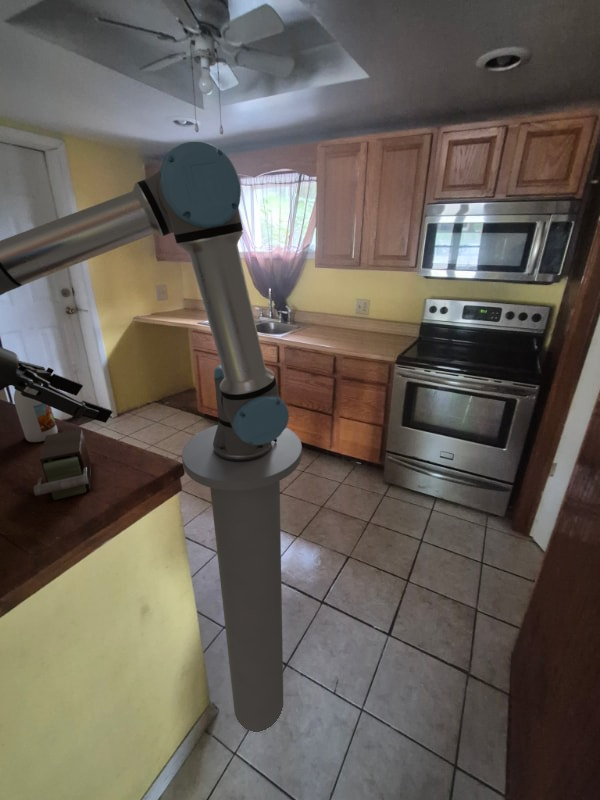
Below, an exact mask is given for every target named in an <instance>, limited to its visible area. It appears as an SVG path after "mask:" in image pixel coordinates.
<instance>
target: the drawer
mask: <svg viewBox="0 0 600 800" xmlns="http://www.w3.org/2000/svg"><path fill="white" fill-rule="evenodd" d="M43 467H44V470H45V473H46V476H47V479H48V483H47V482H44V483H43V481H44V479H43V477H41V476H40V477H38V480H37V484H36V485H33V492H34V496H35V497H38V496H43V495H46V494H51V492H52V495H53V498H54V499H53V501H57V500H61V499H66V498H69V497H73V496H76V495H82V494H86V493H87V491H86V487H85V484H88V483H89V481H88V476H87V468H84V470H83V474H82V470H81V466H80V463H79V459H78V455H77V454H75V455H71V456H66V457H61V458H56V459H51V460H48V462H47V463H44V465H43Z"/></svg>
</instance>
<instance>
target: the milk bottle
mask: <svg viewBox="0 0 600 800" xmlns="http://www.w3.org/2000/svg"><path fill="white" fill-rule="evenodd" d="M13 404H14V406H15V410H16V414H17V417H18V420H19V423H20V426H21V429H22V432H23V434H24V438H25V441H27V442H30V443H40V442H45V438H46V435H51V434H57V433H59V432H58V426H57V423H56V419H55V416H54V412H53V409H52V407H50V406H48V405H46V404H43V403H41V402H39V401H36V400H34V399H31V398H28V397H24V396H22V395H21V392H20V391H18V390H16V389H14V393H13Z"/></svg>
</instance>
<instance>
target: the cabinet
mask: <svg viewBox="0 0 600 800" xmlns="http://www.w3.org/2000/svg"><path fill="white" fill-rule="evenodd" d="M75 454H77V455H78V459H79V463H80V466H81V470H82V474H83V470H84V468H87V476H88V481H89V483H88V484H85V487H86V492H90V491H91V476H92V464H91V459H90V456H89V452H88V447H87V444H86V440H85V435H84V433H83V429H82V428H80V429H75V430H68V431H64V432H63V431H62V432H58V433H57V434H51V435H46V438H45V441H43V445H42V449H41V453H40V456H39V461H40V464H41V468H42V471H43V474H44V477H45V480H46V483H48V479H47V476H46V473H45V470H44V467H43V465H44V463H47V462H48V460H51V459H56V458H61V457H66V456H71V455H75ZM50 496H51V499H52V500H54V498H53V495H52V492H51V493H50Z"/></svg>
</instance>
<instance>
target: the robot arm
mask: <svg viewBox="0 0 600 800" xmlns="http://www.w3.org/2000/svg"><path fill="white" fill-rule="evenodd" d="M241 195H242V187H241V180H240V176H239V174H238V170H237V168H236V167H235V165H234V163H233V162H232V160H231V159H230V158H229V156H228V155H227V154H226V153H224V152H223V151H222V150H221V149H220V148H218V147H217V146H215V145H213V144H211V143H210V142H205V141H201V140H190V141H189V140H188V141H186V142H182V143H180V144H178V145H176V146H175V147H173V148H172V149H171V150H169V151H168V152H167V153H166V154H165V157H164V158H163V160H162V162H161V164H160V168H159V169H158V171H157V172H155V173H154V174H152V175H151V176H149V177H147V178H144V179H142V180H140V181H139V180H138V181H137V182H134V185H133V189H132V191H130V192H127V193H124V194H121V195H118V196H115V197H113V198H111V199H110V198H109V199H108V200H105V201H103V202H100V203H97V204H94V205H92V206H89V207H87V208H84V209H81V210H78V211H76V212H73V213H70V214H68V215H65V216H63V217H59V218H57V219H54V220H51V221H49V222H47V223H44V224H40V225H39V226H36V227H33V228H30V229H28V230H24V231H23V232H20V233H17V234H14V235H12V236H9V237H6V238H3V239H1V240H0V296H2V295H4V294H6V293H8V292H10V291H13V290H16V289H18V288H21V287H22V286H25V285H27V284H30V283H32V282H35V281H37V280H40V279H43V278H45V277H47V276H50V275H53V274H55V273H57V272H60V271H62V270H65V269H68V268H70V267H73V266H75V265H78V264H81V263H83V262H86V261H88V260H91V259H94V258H96V257H99V256H100V255H103V254H106V253H109V252H110V251H113V250H116V249H119V248H121V247H123V246H126V245H128V244H131V243H133V242H136V241H139V240H141V239H143V238H146V237H148V236H151V235H156V236H158V237H161V238H162V237H165V236H167V235H170V234H173V236H174V239H175V240H174V241H175V243H176V246H178V247H179V248H181V249H182V250H184V251H185V252H187V254H188V255H189V259H190V262H191V266H192V269H193V273H194V277H195V280H196V283H197V287H198V290H199V293H200V296H201V300H202V304H203V308H204V311H205V313H206V317H207V321H208V324H209V328H210V332H211V335H212V338H213V342H214V346H215V349H216V352H217V356H218V359H219V360H218V361H219V363H220V364H219V365H217V366H216V367H215V368H214V371H213V381H214V389H215V400H216V411H217V425H218V426H217V430H216V434H215V437H214V441H213V448H214V453H215V454H216V455H217V456H218V457H219V458H221V459H223V460H226V461H231V462H248V461H253V460H256V459H259V458H261V457H263V456H265V455H266V454H268V453H269V451H270V450H271V448H272V441H275V442H277V439H276V438H277V437H279V436H280V435H281V434H282V432H283V430H284V429H285V428H287V426H288V423H289V419H290V414H289V413H290V412H289V409H288V406H287V405H286V402H285V401H284V400H283V399H282V398H281V396H280V393H279V388H278V383H277V379H276V375H275V372H274V371H273V370H272V369H270V368H267V367H266V363H265V359H264V354H263V350H262V346H261V341H260V337H259V332H258V327H257V324H256V320H255V315H254V311H253V307H252V303H251V298H250V293H249V289H248V285H247V281H246V276H245V271H244V267H243V263H242V258H241V254H240V253H241V252H240V250H239V245H238V244H239V242H240V239H241V238H242V236H243V235H244V229H243V223H242V219H241V213H240V209H239V207H240V204H241V197H242V196H241ZM54 372H55V370H54V369H53V368H51V367H47V368H45V367H44V366H41V365H37V364H35V363H30V362H25V361H22V360H20V359H19V356H18V354H17V353H15V352H14V351H12V350H10V349H7V348H4V347H2V346H0V391H2V390H4V389H5V388H7V387H10V386H12V387H13V389H14V390H15V389H16V390H18V391H20V392H21V395H22V396H24V397H28V398H31V399H34V400H36V401H39V402H41V403H43V404H46V405H48V406H50V407H51V408H53V409H55V410H58V411H59V412H62V413H63V414H67V415H69V416H71V418H72V419H75V420H76V419H80V418H81V417H84V418H88V419H91V420H94V421H98V422H101V423H105V424H106V423H107V422H108V420H109V419H110V417H111V416H112V415H113V413H114V411H113V410H112V409H108V408H106V407H103V406H100V405H97V404H94V403H92V402H89V401H86V400H79V399H77V398H76V397H74V396H78V394H79V392H80V391H81V390H82V389H83V386H84V384H82V383H80V382H77V381H74V380H71V379H70V378H66V377H64V376H61V375H59V374H56V373H54Z"/></svg>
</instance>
